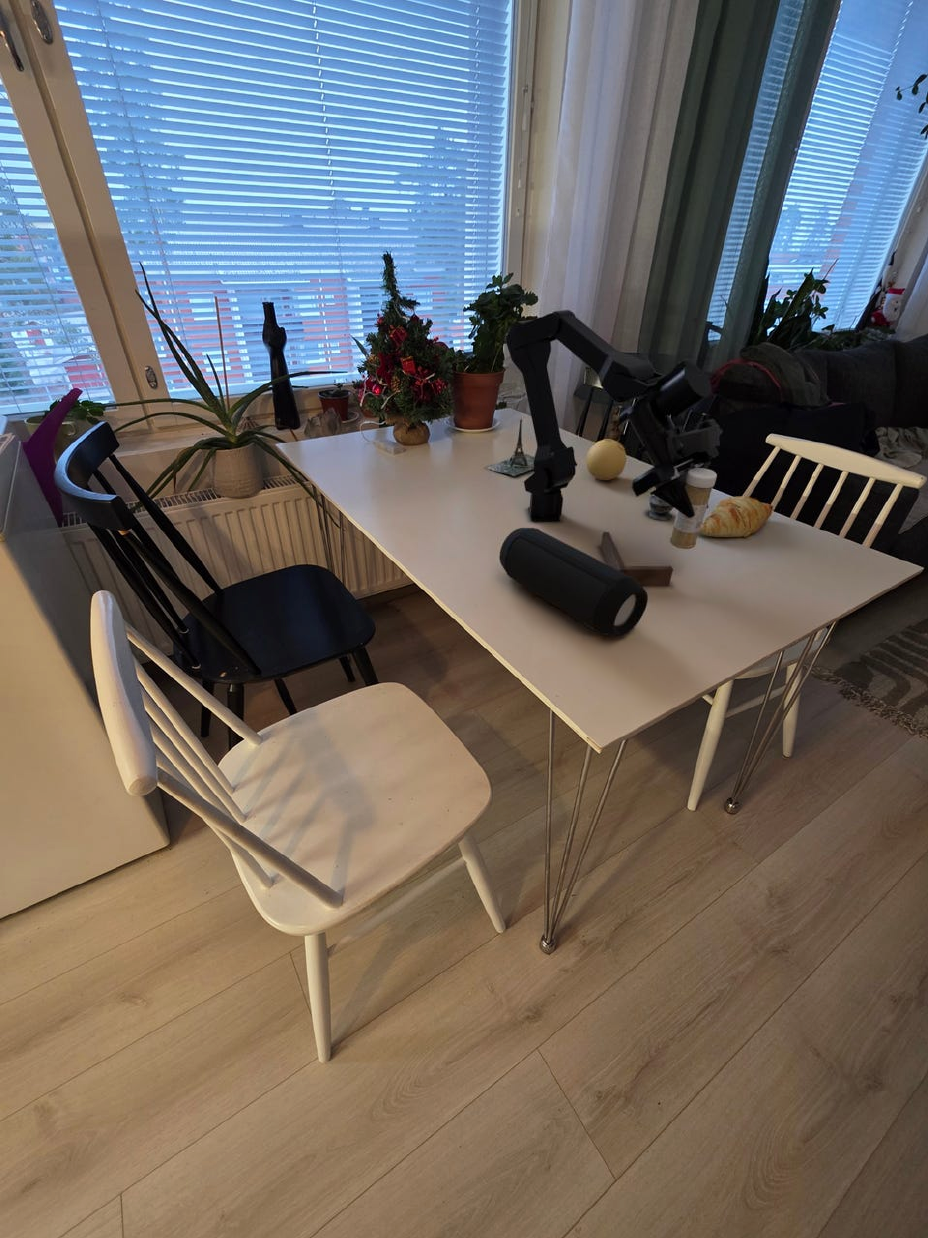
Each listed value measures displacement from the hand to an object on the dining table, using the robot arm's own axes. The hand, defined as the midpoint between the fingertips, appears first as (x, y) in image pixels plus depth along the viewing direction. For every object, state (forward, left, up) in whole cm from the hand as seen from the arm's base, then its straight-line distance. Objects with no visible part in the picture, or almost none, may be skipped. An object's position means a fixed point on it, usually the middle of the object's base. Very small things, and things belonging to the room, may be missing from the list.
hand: (699, 512), depth 90 cm
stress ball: (-4, +48, -13) cm, 50 cm away
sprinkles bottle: (-1, +1, -7) cm, 7 cm away
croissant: (+18, +20, -13) cm, 29 cm away
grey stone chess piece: (+4, +26, -13) cm, 29 cm away
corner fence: (-8, +4, -13) cm, 15 cm away
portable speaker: (-23, -9, -13) cm, 28 cm away
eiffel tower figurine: (-25, +57, -13) cm, 64 cm away
